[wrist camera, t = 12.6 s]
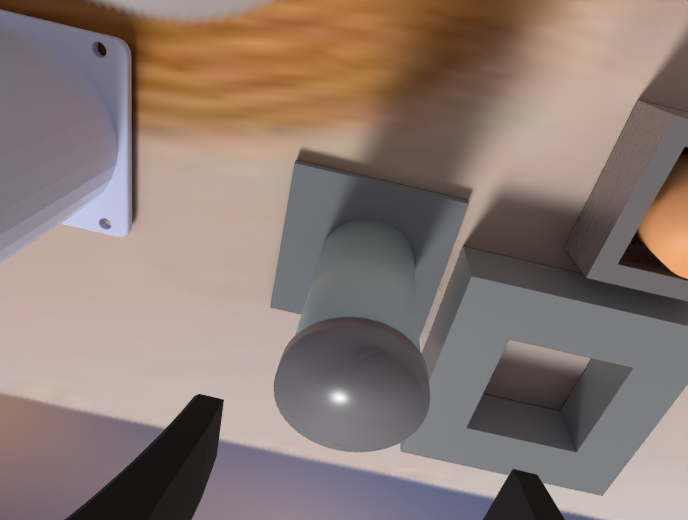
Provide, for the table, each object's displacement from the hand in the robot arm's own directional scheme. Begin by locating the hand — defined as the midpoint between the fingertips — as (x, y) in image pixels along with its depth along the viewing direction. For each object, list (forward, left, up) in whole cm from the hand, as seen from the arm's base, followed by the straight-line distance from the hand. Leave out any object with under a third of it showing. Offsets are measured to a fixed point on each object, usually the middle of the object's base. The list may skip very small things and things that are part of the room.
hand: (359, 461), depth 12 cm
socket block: (+8, -3, -10) cm, 14 cm away
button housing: (+10, +6, -10) cm, 16 cm away
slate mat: (-1, 0, -10) cm, 10 cm away
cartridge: (0, 0, -10) cm, 10 cm away
